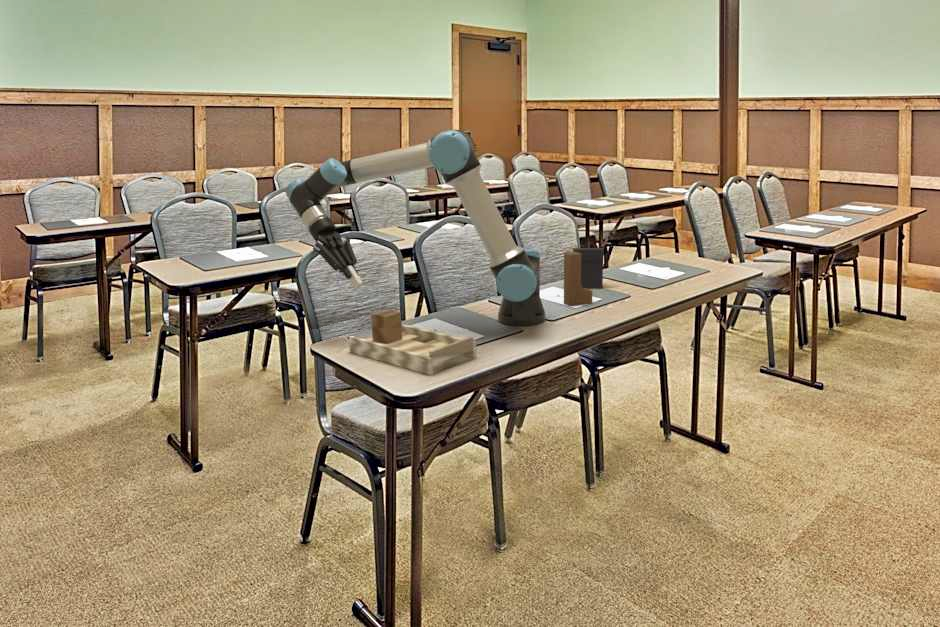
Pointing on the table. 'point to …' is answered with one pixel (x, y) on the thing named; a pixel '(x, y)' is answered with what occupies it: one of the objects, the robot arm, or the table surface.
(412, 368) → the box
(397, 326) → the walnut block
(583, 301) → the wooden block
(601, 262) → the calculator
